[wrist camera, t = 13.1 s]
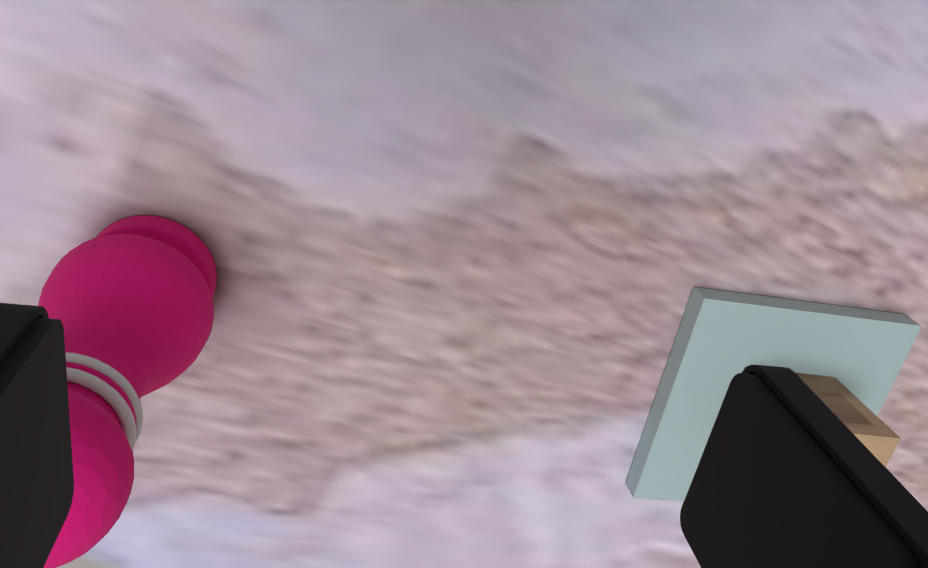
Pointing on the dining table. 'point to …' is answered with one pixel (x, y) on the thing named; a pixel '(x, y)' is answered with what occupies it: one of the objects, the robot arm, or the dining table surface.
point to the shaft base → (756, 343)
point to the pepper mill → (122, 353)
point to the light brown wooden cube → (854, 415)
